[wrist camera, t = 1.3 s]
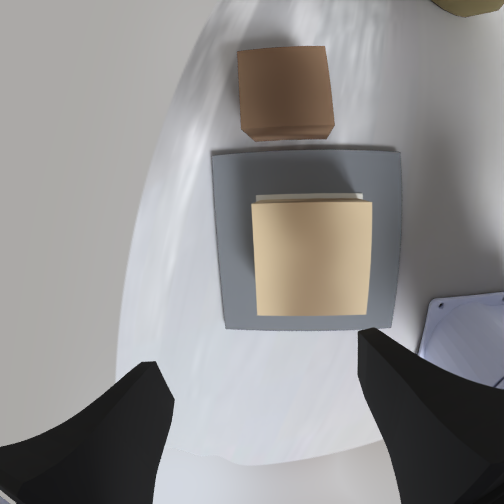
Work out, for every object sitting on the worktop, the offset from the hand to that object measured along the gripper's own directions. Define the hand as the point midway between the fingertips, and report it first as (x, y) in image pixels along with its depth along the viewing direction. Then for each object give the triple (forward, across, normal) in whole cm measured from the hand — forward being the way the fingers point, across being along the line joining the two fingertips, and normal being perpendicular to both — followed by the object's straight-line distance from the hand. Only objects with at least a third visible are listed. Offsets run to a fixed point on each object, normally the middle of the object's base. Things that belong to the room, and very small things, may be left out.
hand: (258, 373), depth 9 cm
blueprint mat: (+10, -4, -1) cm, 11 cm away
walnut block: (+11, -4, -10) cm, 15 cm away
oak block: (+9, -4, -1) cm, 10 cm away
